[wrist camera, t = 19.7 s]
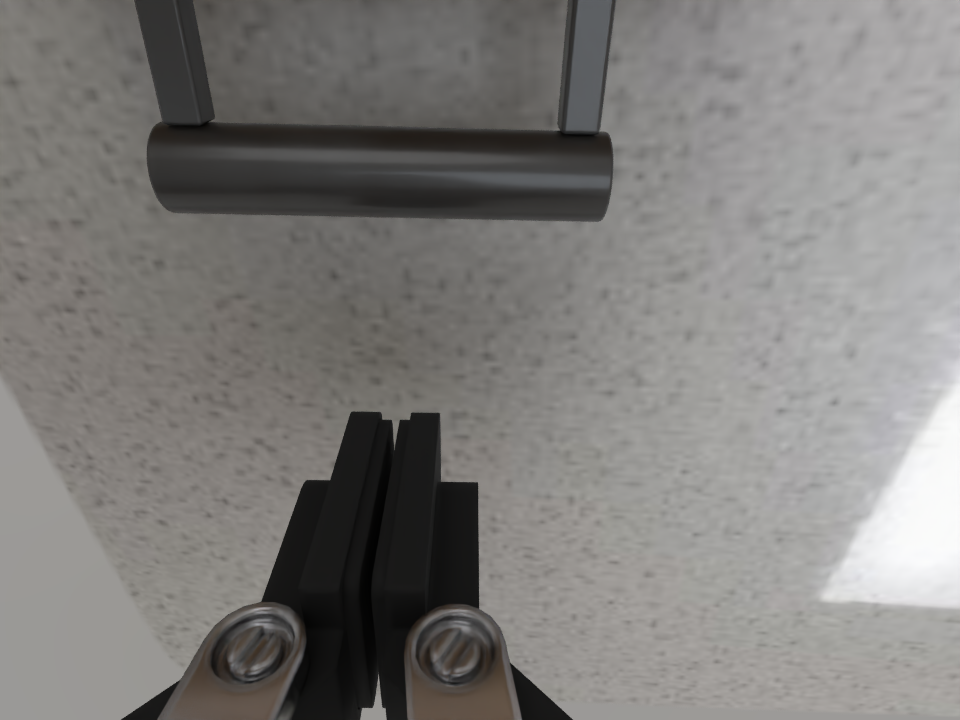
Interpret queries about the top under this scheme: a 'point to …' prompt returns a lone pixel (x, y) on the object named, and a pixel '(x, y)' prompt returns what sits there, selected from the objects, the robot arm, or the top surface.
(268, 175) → the drawer
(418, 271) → the top surface
